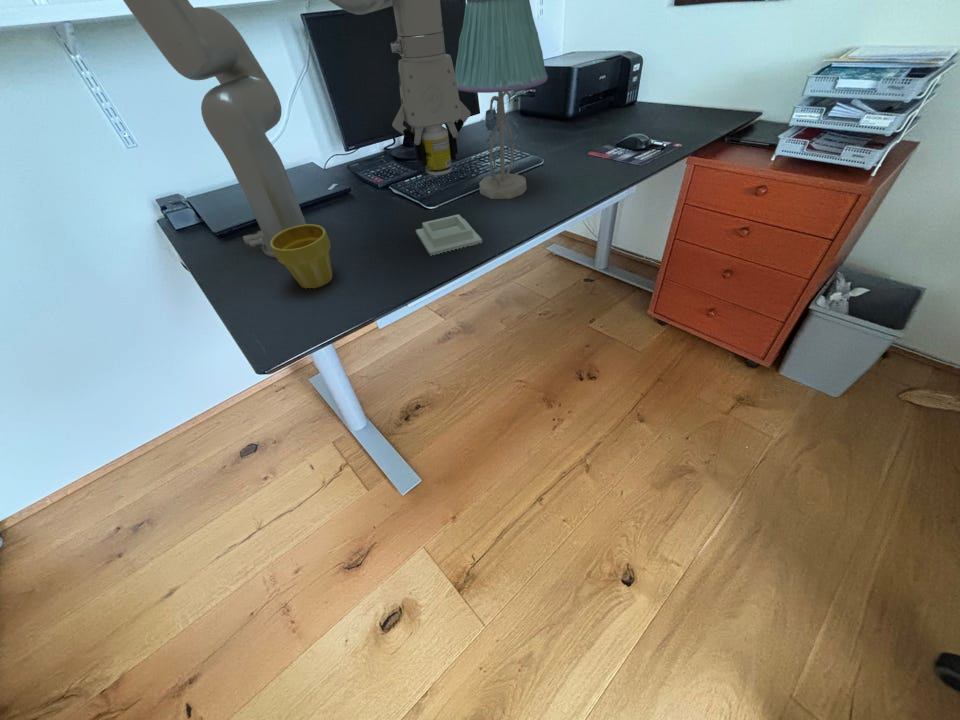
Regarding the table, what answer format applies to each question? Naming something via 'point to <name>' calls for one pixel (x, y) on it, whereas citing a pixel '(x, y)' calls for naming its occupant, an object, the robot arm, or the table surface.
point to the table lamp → (499, 73)
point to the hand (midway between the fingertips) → (437, 160)
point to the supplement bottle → (436, 150)
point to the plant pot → (304, 254)
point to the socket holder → (447, 234)
